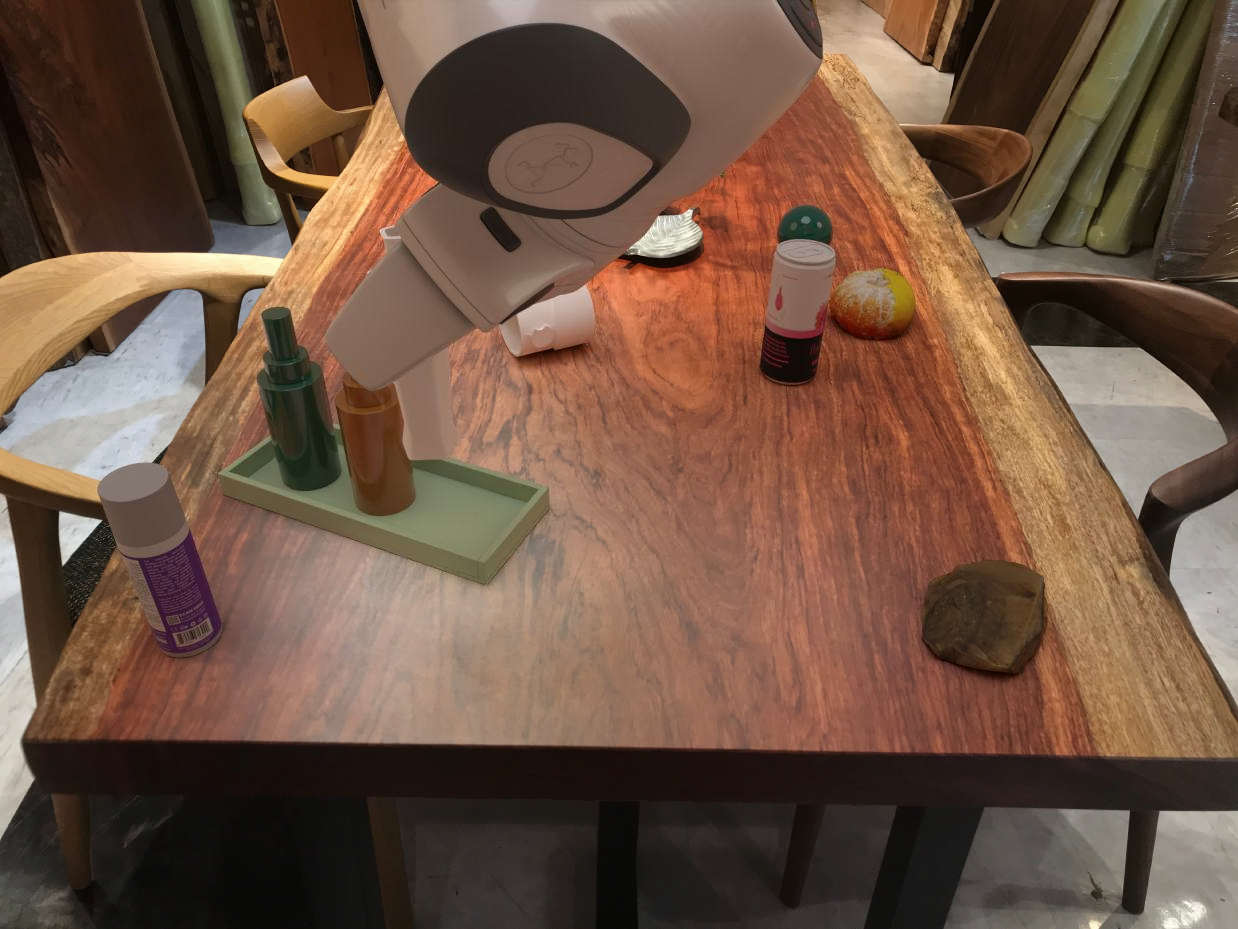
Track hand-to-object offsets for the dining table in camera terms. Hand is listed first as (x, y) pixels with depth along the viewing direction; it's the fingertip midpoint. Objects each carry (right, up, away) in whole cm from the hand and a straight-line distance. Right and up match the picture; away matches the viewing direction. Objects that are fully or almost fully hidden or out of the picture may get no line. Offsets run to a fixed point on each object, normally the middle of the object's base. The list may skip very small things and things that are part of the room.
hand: (407, 334), depth 54 cm
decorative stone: (+42, -21, +17) cm, 50 cm away
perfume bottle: (0, -7, +5) cm, 9 cm away
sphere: (+40, +22, +77) cm, 89 cm away
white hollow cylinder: (+4, +7, +55) cm, 55 cm away
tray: (-9, -11, +29) cm, 32 cm away
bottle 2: (-9, -11, +28) cm, 32 cm away
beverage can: (+33, +3, +50) cm, 60 cm away
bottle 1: (-17, -9, +31) cm, 36 cm away
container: (-20, -21, +15) cm, 33 cm away
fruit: (+45, +10, +61) cm, 76 cm away
